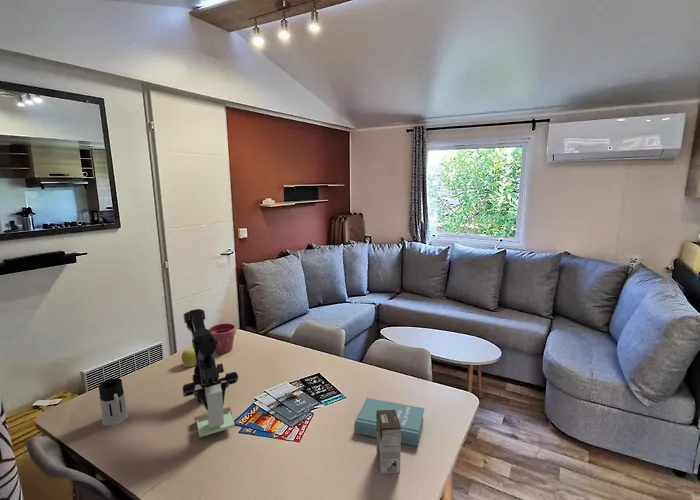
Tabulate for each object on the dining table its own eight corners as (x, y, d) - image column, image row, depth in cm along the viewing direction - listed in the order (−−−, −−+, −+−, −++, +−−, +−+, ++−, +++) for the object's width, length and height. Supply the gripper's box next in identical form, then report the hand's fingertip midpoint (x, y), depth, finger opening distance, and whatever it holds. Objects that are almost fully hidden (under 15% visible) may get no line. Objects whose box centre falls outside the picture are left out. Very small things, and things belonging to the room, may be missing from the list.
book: (423, 420, 140) (424, 408, 139) (417, 448, 125) (417, 435, 124) (366, 409, 147) (366, 397, 147) (354, 434, 133) (354, 422, 132)
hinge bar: (195, 422, 140) (194, 416, 139) (230, 412, 146) (229, 406, 145) (196, 428, 136) (195, 422, 136) (232, 418, 142) (231, 412, 142)
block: (207, 420, 133) (205, 387, 131) (221, 416, 136) (219, 384, 133) (209, 428, 129) (207, 394, 127) (223, 424, 131) (222, 391, 129)
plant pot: (204, 355, 195) (202, 332, 192) (218, 343, 208) (216, 322, 206) (229, 356, 192) (227, 334, 190) (241, 345, 206) (240, 323, 204)
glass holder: (125, 408, 149) (120, 374, 146) (135, 424, 139) (130, 388, 136) (99, 418, 143) (94, 383, 140) (108, 436, 133) (102, 398, 130)
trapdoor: (196, 422, 136) (196, 419, 136) (230, 413, 141) (230, 410, 141) (199, 437, 128) (199, 434, 128) (234, 426, 133) (234, 423, 133)
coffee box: (375, 453, 123) (375, 409, 120) (394, 451, 123) (395, 408, 120) (380, 474, 114) (380, 428, 111) (400, 472, 114) (401, 426, 111)
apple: (198, 366, 181) (190, 348, 179) (183, 371, 181) (175, 353, 179) (204, 358, 188) (197, 341, 187) (190, 363, 189) (182, 346, 187)
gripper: (180, 364, 127) (186, 409, 120) (235, 351, 136) (244, 393, 129) (180, 374, 135) (186, 418, 128) (232, 362, 144) (240, 402, 137)
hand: (215, 407), depth 130 cm, fingers closed on block, 5 cm apart
